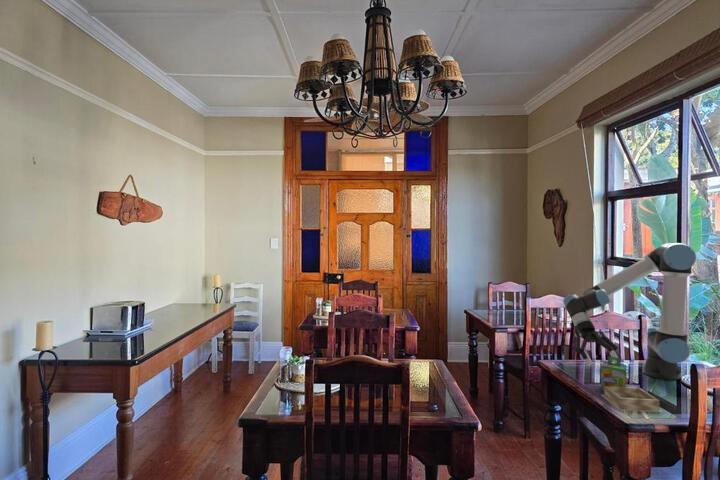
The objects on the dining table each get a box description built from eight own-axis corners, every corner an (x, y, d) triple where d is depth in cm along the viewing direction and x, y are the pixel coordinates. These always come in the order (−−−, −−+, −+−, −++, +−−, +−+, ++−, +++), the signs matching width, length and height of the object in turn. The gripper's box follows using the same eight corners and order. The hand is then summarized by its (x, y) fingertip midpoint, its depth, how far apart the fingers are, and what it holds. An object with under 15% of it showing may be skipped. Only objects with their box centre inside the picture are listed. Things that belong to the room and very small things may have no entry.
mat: (640, 397, 177) (641, 396, 177) (663, 413, 161) (663, 412, 161) (600, 395, 179) (600, 394, 179) (618, 411, 163) (618, 409, 163)
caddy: (639, 397, 176) (639, 387, 176) (659, 410, 162) (659, 400, 162) (604, 395, 177) (604, 386, 177) (620, 409, 164) (620, 398, 164)
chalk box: (600, 392, 182) (601, 358, 182) (602, 386, 190) (602, 353, 190) (626, 397, 177) (626, 362, 177) (626, 390, 185) (626, 357, 185)
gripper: (603, 327, 206) (625, 368, 191) (555, 329, 203) (575, 370, 188) (611, 319, 201) (635, 360, 186) (562, 320, 198) (583, 361, 183)
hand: (604, 365), depth 187 cm, fingers open, 13 cm apart
